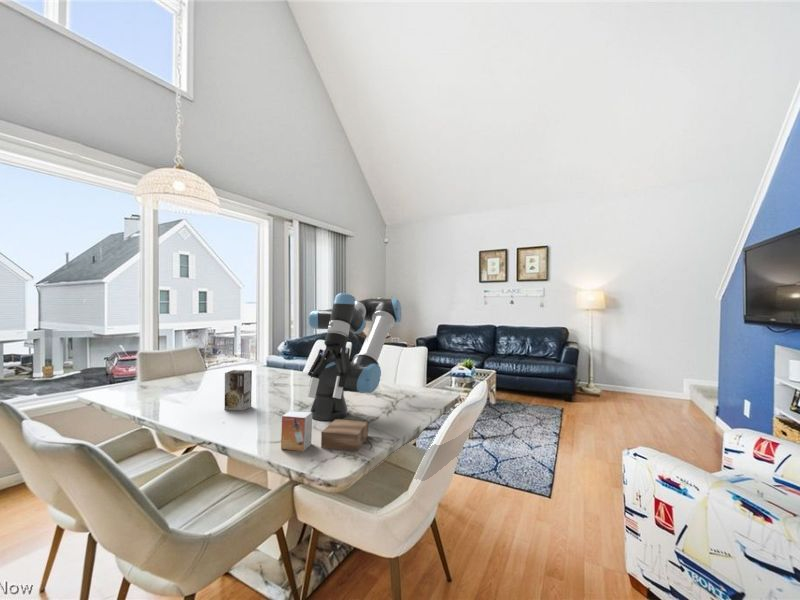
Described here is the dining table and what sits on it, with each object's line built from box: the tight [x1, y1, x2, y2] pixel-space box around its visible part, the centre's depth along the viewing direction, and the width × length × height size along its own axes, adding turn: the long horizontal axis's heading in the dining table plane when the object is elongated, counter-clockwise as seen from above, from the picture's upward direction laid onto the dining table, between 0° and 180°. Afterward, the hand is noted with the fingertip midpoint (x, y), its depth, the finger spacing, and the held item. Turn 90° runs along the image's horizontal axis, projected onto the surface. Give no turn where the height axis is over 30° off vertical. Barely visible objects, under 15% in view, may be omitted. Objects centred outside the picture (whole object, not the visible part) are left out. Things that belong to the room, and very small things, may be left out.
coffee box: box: [224, 369, 253, 411], centre depth 142 cm, size 9×6×16 cm
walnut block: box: [320, 418, 369, 452], centre depth 108 cm, size 12×12×5 cm
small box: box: [280, 410, 313, 452], centre depth 104 cm, size 8×6×10 cm
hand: (323, 397), depth 104 cm, fingers open, 13 cm apart
